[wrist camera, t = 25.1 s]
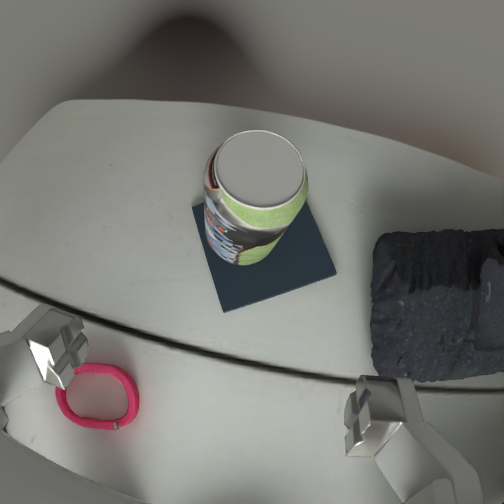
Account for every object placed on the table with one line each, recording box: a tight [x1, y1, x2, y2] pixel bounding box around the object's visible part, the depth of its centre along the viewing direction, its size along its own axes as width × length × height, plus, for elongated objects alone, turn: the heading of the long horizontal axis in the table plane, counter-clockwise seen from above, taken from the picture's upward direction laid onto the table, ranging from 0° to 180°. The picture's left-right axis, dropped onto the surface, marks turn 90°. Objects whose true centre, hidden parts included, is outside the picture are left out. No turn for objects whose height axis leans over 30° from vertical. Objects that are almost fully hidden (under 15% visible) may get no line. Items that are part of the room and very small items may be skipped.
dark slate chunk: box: [370, 229, 504, 383], centre depth 24 cm, size 15×22×5 cm
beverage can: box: [204, 130, 308, 265], centre depth 22 cm, size 6×7×12 cm
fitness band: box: [56, 363, 139, 430], centre depth 23 cm, size 8×6×2 cm
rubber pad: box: [192, 200, 337, 313], centre depth 28 cm, size 10×10×1 cm
